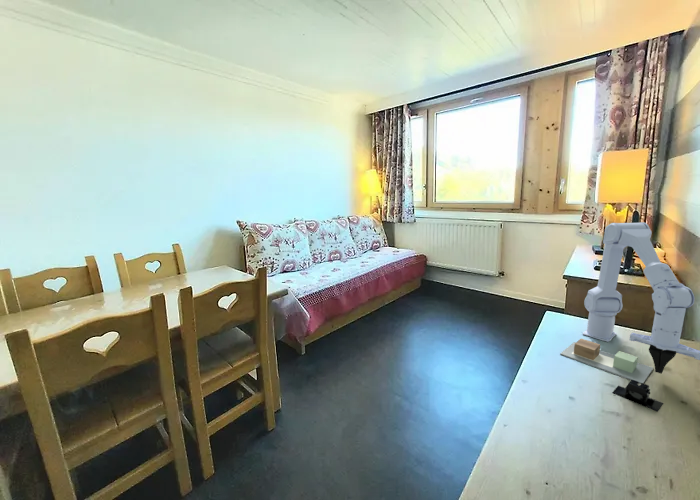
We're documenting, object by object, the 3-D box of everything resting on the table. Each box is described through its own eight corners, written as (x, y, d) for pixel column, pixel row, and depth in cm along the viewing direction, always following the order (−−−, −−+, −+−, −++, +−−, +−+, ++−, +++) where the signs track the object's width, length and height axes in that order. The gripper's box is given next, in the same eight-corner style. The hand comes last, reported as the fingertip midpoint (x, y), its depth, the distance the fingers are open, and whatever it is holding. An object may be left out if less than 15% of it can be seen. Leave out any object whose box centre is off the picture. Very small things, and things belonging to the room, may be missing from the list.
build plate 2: (671, 407, 82) (674, 391, 81) (663, 419, 78) (667, 403, 77) (612, 383, 92) (614, 369, 91) (602, 393, 88) (605, 378, 87)
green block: (617, 361, 101) (619, 350, 100) (636, 367, 98) (638, 356, 97) (612, 366, 99) (614, 356, 98) (632, 373, 95) (633, 362, 94)
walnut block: (579, 347, 110) (580, 338, 109) (599, 354, 105) (600, 344, 105) (573, 353, 107) (574, 343, 106) (593, 360, 102) (594, 350, 101)
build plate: (574, 342, 114) (574, 341, 114) (653, 368, 97) (653, 367, 97) (560, 354, 107) (560, 353, 107) (642, 384, 90) (642, 383, 90)
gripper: (629, 323, 92) (622, 365, 95) (702, 342, 81) (692, 389, 84) (636, 316, 96) (629, 357, 99) (707, 333, 85) (697, 379, 88)
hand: (658, 371), depth 92 cm, fingers closed
